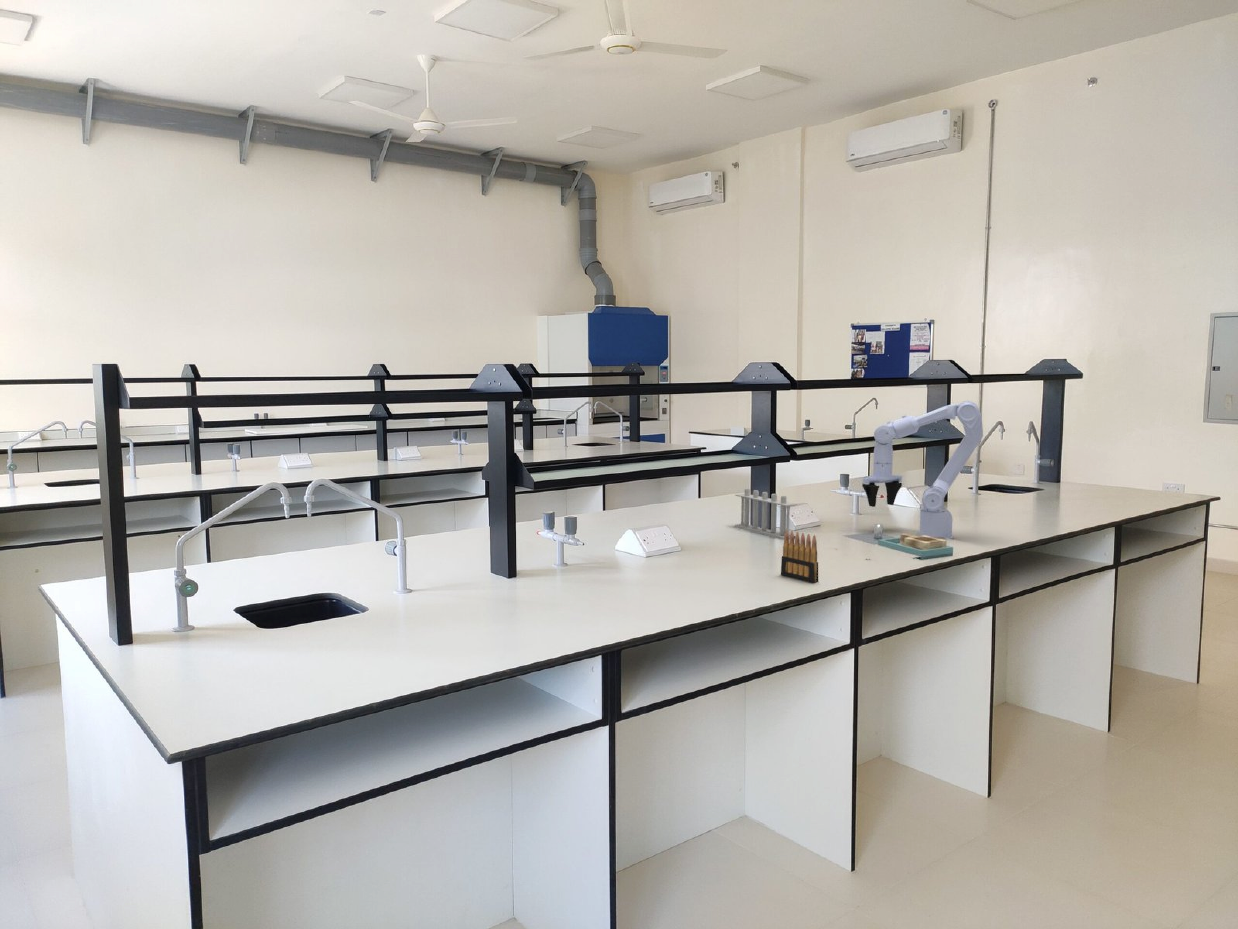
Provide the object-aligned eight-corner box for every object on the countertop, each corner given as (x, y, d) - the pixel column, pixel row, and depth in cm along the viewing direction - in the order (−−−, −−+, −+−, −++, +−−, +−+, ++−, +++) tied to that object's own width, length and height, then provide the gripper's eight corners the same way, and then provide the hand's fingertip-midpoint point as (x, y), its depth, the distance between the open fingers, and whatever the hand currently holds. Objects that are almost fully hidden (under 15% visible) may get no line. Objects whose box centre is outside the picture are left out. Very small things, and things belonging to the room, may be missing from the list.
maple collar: (945, 552, 240) (946, 540, 240) (925, 555, 237) (925, 543, 236) (912, 544, 251) (913, 532, 251) (892, 546, 248) (893, 535, 247)
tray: (908, 544, 255) (908, 536, 254) (952, 555, 240) (953, 547, 239) (877, 548, 250) (878, 539, 249) (921, 560, 234) (921, 551, 234)
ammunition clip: (780, 575, 218) (781, 529, 217) (785, 574, 219) (786, 528, 218) (813, 583, 210) (815, 536, 208) (818, 582, 211) (819, 535, 210)
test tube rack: (796, 538, 264) (797, 497, 262) (785, 540, 261) (786, 498, 260) (744, 525, 285) (745, 487, 283) (734, 527, 283) (735, 488, 281)
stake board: (907, 543, 256) (907, 526, 255) (874, 547, 250) (874, 529, 250) (874, 535, 268) (875, 518, 268) (842, 538, 263) (843, 521, 262)
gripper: (891, 460, 273) (889, 501, 275) (856, 462, 267) (854, 505, 268) (907, 462, 267) (905, 505, 268) (872, 465, 260) (870, 508, 262)
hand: (881, 505), depth 268 cm, fingers open, 7 cm apart
